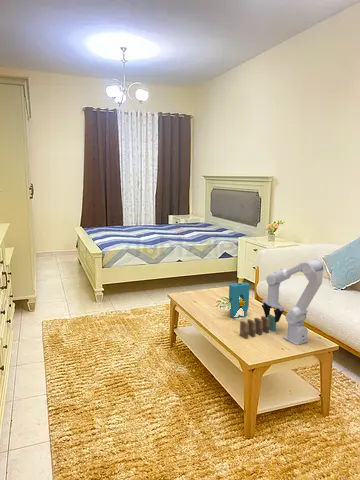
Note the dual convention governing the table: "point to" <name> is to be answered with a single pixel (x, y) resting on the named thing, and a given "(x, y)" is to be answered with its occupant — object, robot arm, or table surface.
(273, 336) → the table surface
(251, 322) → the walnut domino
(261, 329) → the walnut domino
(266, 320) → the walnut domino
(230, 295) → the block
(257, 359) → the table surface
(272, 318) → the teal domino
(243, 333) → the walnut domino
